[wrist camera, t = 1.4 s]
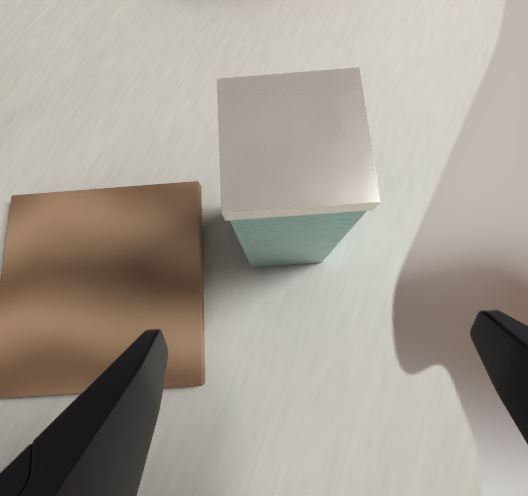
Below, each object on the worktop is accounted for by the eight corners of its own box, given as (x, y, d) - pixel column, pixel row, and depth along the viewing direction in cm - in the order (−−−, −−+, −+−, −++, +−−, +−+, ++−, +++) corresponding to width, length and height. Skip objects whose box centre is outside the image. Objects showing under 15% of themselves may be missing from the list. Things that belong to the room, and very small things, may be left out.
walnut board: (207, 380, 21) (201, 385, 19) (5, 393, 21) (-15, 399, 19) (202, 189, 24) (198, 181, 22) (27, 203, 24) (11, 195, 23)
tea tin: (322, 263, 22) (380, 201, 10) (250, 268, 22) (221, 213, 10) (315, 195, 23) (359, 67, 11) (246, 200, 23) (216, 79, 11)
